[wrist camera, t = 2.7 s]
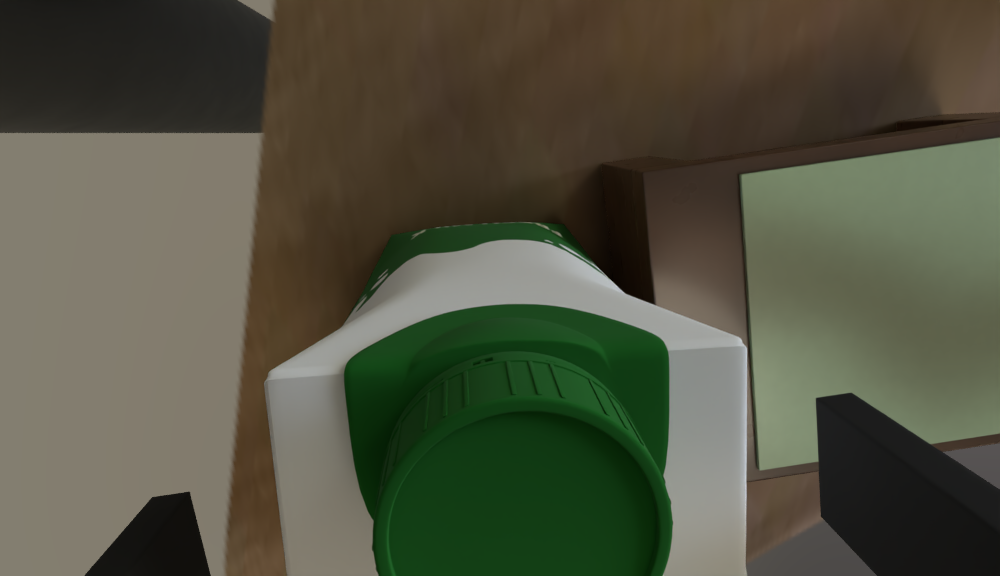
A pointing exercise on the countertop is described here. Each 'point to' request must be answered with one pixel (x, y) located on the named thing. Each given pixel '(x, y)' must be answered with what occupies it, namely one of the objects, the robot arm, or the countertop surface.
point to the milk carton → (510, 422)
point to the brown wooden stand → (832, 275)
